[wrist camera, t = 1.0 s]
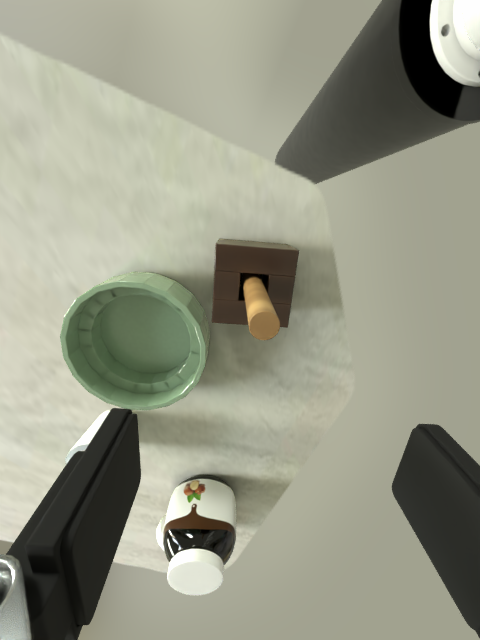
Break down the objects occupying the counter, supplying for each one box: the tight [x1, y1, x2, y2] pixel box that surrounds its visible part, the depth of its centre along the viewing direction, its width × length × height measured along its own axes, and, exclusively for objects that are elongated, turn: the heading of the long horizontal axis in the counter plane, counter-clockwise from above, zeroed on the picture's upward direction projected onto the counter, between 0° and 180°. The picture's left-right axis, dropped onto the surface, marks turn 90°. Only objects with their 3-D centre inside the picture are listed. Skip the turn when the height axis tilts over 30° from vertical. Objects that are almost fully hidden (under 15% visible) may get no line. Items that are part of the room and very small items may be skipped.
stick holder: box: [212, 239, 299, 327], centre depth 30 cm, size 8×8×6 cm
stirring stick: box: [242, 273, 280, 340], centre depth 25 cm, size 2×2×16 cm
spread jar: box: [156, 475, 236, 595], centre depth 40 cm, size 12×11×12 cm
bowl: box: [60, 272, 210, 410], centre depth 32 cm, size 15×15×6 cm
